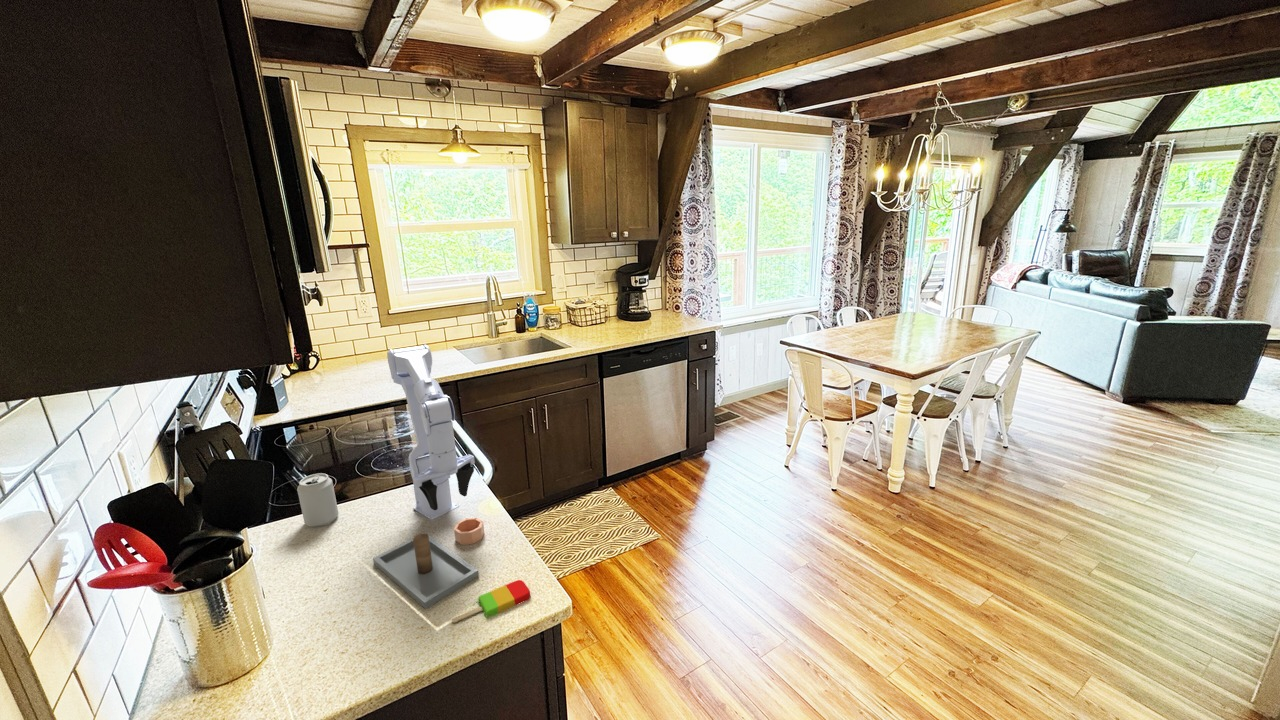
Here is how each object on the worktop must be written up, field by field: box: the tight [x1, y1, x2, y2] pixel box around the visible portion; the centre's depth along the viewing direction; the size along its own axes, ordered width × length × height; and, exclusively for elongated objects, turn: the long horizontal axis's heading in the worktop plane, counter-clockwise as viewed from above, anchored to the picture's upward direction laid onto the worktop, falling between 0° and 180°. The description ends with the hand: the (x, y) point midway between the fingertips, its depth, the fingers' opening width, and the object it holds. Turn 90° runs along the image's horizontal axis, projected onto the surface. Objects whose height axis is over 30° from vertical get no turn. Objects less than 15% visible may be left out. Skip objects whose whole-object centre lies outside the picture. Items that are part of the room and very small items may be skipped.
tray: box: [372, 532, 480, 610], centre depth 109 cm, size 22×12×2 cm, turn 51°
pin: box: [413, 532, 433, 574], centre depth 108 cm, size 3×3×8 cm
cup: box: [453, 517, 485, 546], centre depth 120 cm, size 6×6×4 cm
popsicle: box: [451, 579, 531, 624], centre depth 99 cm, size 6×15×2 cm, turn 125°
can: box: [296, 472, 339, 528], centre depth 128 cm, size 8×8×12 cm
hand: (449, 501), depth 119 cm, fingers open, 7 cm apart
